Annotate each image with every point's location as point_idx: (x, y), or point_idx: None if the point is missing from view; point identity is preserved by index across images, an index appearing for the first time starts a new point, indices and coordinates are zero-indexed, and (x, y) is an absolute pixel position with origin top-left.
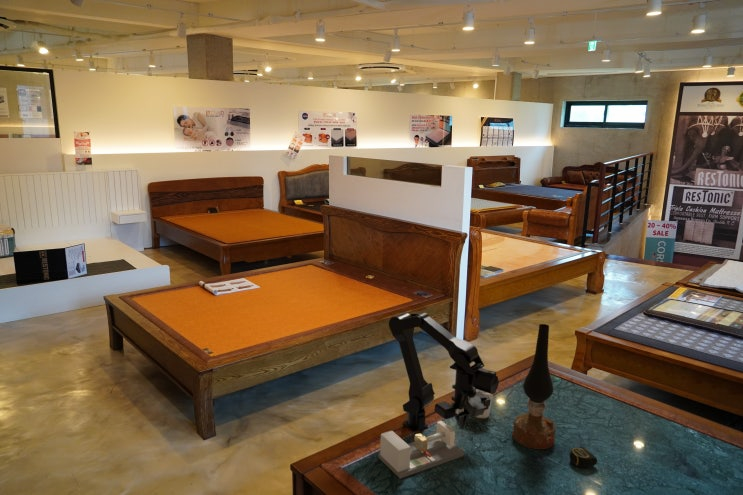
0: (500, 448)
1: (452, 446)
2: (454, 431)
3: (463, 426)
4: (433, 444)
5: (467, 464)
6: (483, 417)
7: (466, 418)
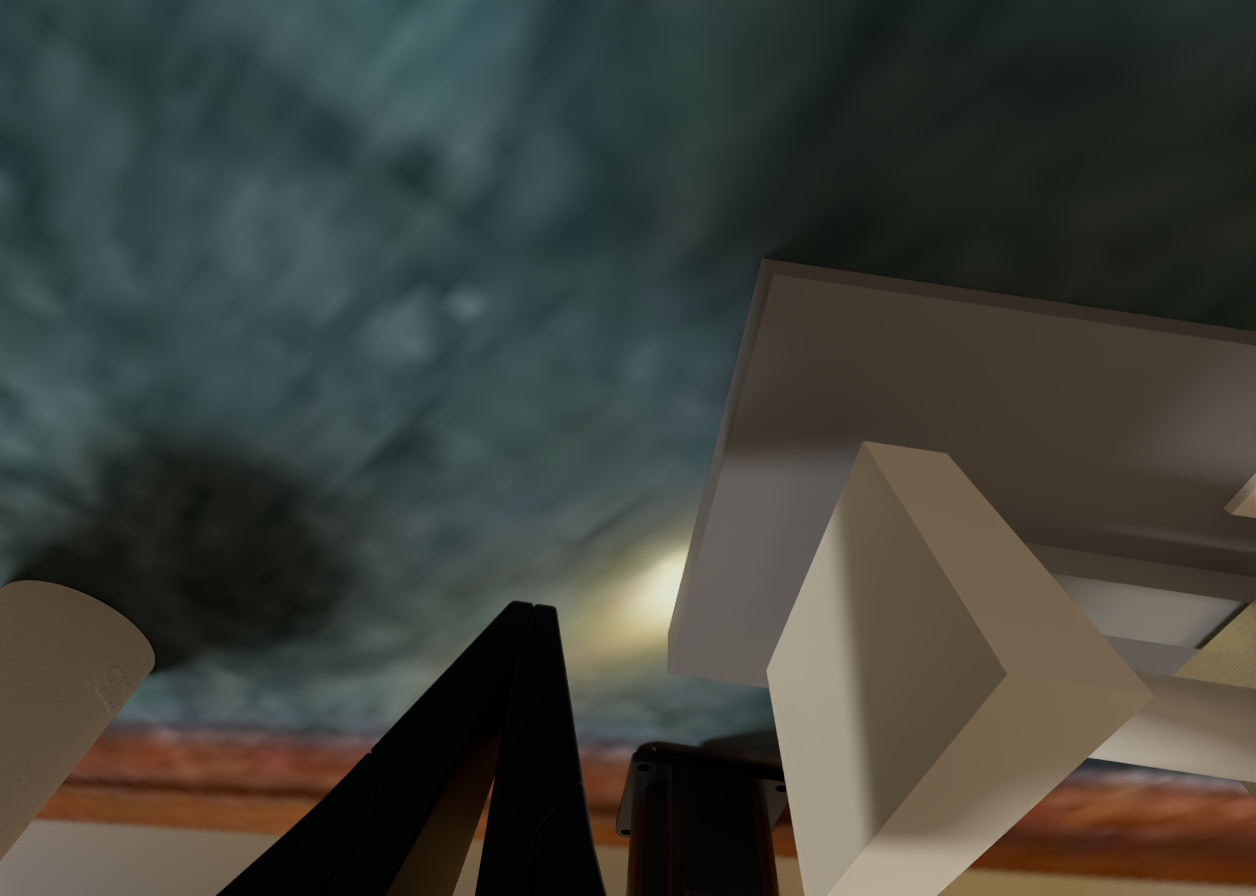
0: (116, 21)
1: (797, 461)
2: (1021, 666)
3: (507, 642)
4: None
5: (942, 34)
6: (68, 597)
7: (381, 830)
